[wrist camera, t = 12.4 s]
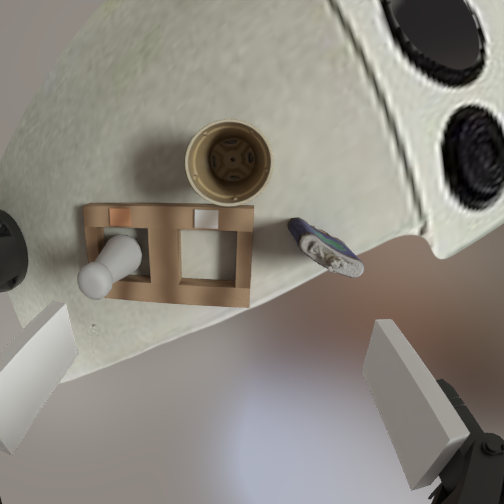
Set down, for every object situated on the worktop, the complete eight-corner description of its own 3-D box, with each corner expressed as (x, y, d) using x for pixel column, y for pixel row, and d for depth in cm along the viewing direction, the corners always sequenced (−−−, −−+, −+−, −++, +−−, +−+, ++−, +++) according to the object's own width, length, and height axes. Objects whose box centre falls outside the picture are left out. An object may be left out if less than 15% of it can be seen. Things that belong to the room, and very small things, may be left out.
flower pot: (281, 173, 41) (289, 179, 33) (220, 207, 42) (213, 222, 34) (246, 112, 38) (245, 103, 30) (184, 148, 40) (168, 148, 32)
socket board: (99, 289, 46) (92, 297, 44) (90, 202, 42) (81, 206, 39) (249, 299, 47) (249, 308, 44) (253, 205, 42) (253, 209, 40)
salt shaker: (112, 266, 45) (73, 305, 33) (109, 230, 43) (65, 259, 31) (147, 268, 45) (115, 310, 33) (145, 231, 43) (109, 263, 31)
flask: (348, 243, 44) (374, 271, 34) (337, 260, 45) (360, 292, 35) (293, 213, 43) (306, 233, 33) (282, 231, 44) (292, 257, 33)
